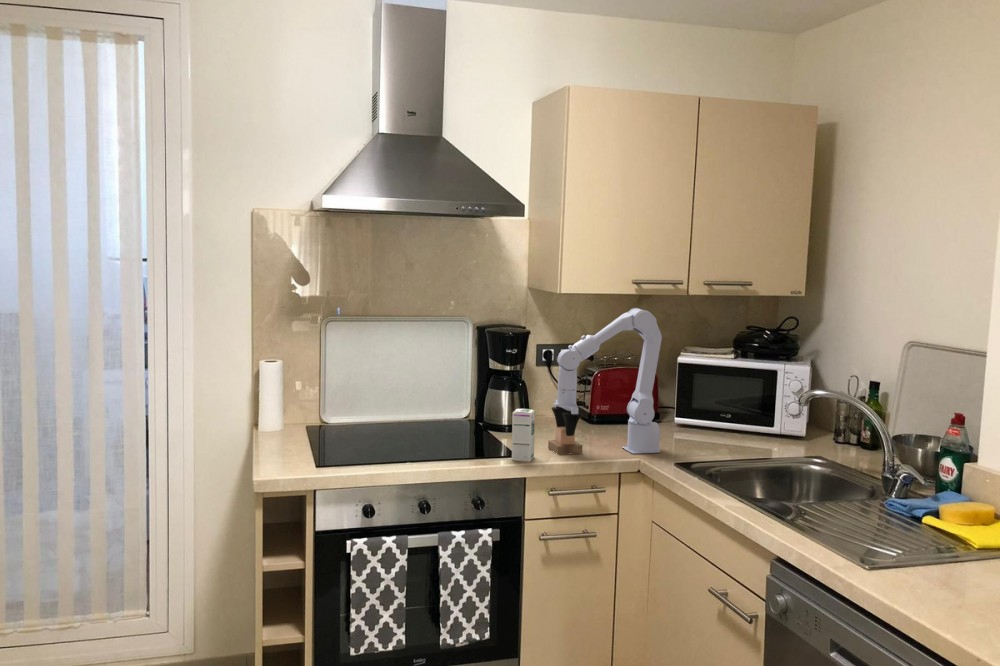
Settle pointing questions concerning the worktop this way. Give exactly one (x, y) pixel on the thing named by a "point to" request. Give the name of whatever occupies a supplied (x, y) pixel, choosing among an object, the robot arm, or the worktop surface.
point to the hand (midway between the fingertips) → (565, 432)
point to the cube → (563, 436)
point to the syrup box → (523, 435)
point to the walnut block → (564, 447)
